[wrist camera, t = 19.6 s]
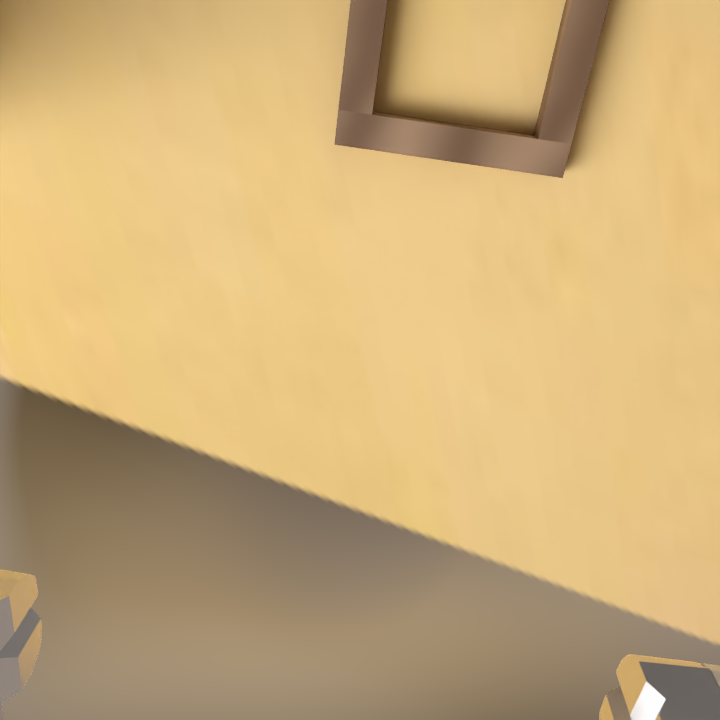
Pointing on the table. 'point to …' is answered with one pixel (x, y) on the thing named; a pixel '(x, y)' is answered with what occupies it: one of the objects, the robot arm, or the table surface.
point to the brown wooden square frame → (462, 141)
